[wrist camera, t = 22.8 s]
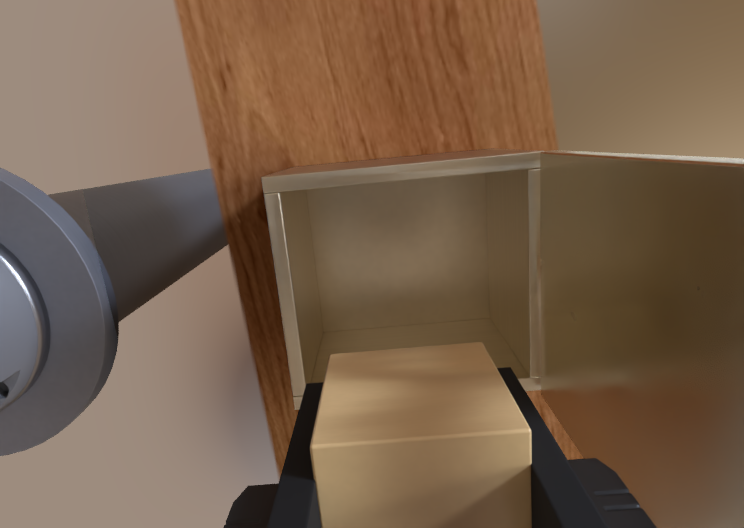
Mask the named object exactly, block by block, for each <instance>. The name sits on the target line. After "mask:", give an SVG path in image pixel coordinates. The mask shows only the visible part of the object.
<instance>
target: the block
mask: <svg viewBox="0 0 744 528" xmlns="http://www.w3.org/2000/svg"><path fill="white" fill-rule="evenodd" d="M310 455H311V462H312V470H313V477H314V480H315V484H316V491H317V499H318V506H319V513H320V520H321V528H532V506H531V464H532V432H531V429H530V427H529V425H528V423H527V422H526V420H525V418H524V416H523V414H522V413H521V411H520V409H519V407H518V405H517V404H516V402H515V400H514V398H513V396H512V395H511V393H510V391H509V389H508V387H507V386H506V384H505V382H504V380H503V378H502V377H501V375H500V373H499V371H498V370H497V368H496V366H495V364H494V362H493V361H492V359H491V357H490V355H489V353H488V352H487V350H486V348H485V346H484V344H483V343H482V342H475V343H463V344H451V345H438V346H426V347H414V348H402V349H389V350H377V351H365V352H352V353H340V354H331V355H329V358H328V363H327V368H326V373H325V377H324V382H323V387H322V391H321V396H320V401H319V406H318V410H317V415H316V420H315V424H314V429H313V434H312V439H311V443H310Z"/></svg>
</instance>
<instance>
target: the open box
mask: <svg viewBox="0 0 744 528" xmlns="http://www.w3.org/2000/svg"><path fill="white" fill-rule="evenodd" d="M541 152H544V151H534V150H514V149H494V148H493V149H482V150H471V151H460V152H449V153H439V154H428V155H417V156H406V157H395V158H384V159H374V160H363V161H352V162H341V163H330V164H319V165H309V166H298V167H292V168H289V169H285V170H282V171H279V172H276V173H273V174H269V175H266V176H263V177H261V180H262V187H263V193H265V194H264V199H265V206H266V213H267V220H268V227H269V234H270V240H271V247H272V254H273V261H274V268H275V275H276V282H277V289H278V296H279V303H280V309H281V316H282V323H283V330H284V337H285V344H286V351H287V358H288V365H289V372H290V378H291V385H292V392H293V401H294V407H295V410H299V409H300V405H301V401H302V398H303V394H304V390H305V387H306V384H307V383H320V382H324V377H325V373H326V368H327V363H328V358H329V355H331V354H340V353H352V352H365V351H377V350H389V349H402V348H414V347H426V346H438V345H451V344H463V343H475V342H482V343H483V344H484V346H485V348H486V350H487V352H488V353H489V355H490V357H491V359H492V361H493V362H494V364H495V366H496V368H504V367H511V369H512V370H513V372H514V374H515V375H516V377H517V379H518V380H519V382H520V383H521V385H522V387H523V388H524V390H525V391H533V390H541V256H540V153H541Z"/></svg>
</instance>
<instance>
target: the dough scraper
mask: <svg viewBox="0 0 744 528" xmlns="http://www.w3.org/2000/svg"><path fill="white" fill-rule="evenodd" d="M540 256H541V395H542V397H543V398H544V400H545V401H546V403H547V404H548V406H549V407H550V409H551V410H552V412H553V413H554V414H555V416H556V417H557V419H558V420H559V422H560V423H561V425H562V426H563V428H564V429H565V431H566V432H567V434H568V435H569V437H570V438H571V440H572V441H573V443H574V444H575V446H576V447H577V449H578V450H579V452H580V453H581V455H582V456H583V458H584V459H588V458H597V459H598V460H600V461H601V462H602V463H604V464H605V465H607V466H608V467H609V468H611V469H612V470H614V471H615V472H616V473H617V474H618V476H619V477H620V478H621V480H622V481H623V482H624V484H625V485H626V486H627V488H628V489H629V492H630V493H632V495H633V496H634V497H635V499H636V500H637V501H638V503H639V504H640V508H643V509H644V511H645V512H646V514H647V515H648V516H649V518H650V519H651V520H652V522H653V523H654V524H655V526H656V527H657V528H744V159H740V158H716V157H694V156H672V155H648V154H623V153H603V152H579V151H577V152H576V151H557V150H555V151H544V152H541V153H540Z"/></svg>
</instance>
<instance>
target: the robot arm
mask: <svg viewBox="0 0 744 528" xmlns="http://www.w3.org/2000/svg"><path fill="white" fill-rule="evenodd" d="M49 348H50V322H49V316H48V312H47V308H46V305H45V302H44V299H43V297H42V294H41V292H40V290H39V288H38V286H37V284H36V282H35V281H34V279H33V278H32V276H31V275H30V273H29V272H28V270H27V269H26V268H25V266H24V265H23V264H22V263H21V262H20V260H19V259H18V258H17V257H16V256H15V255H14V254H13V253H12V252H11V251H10V250H9V249H7V248H6V247H5V246H4V245H3V244H1V243H0V411H1V410H2V409H4V408H6V407H7V406H8V405H10V404H11V403H13V402H14V401H15V400H17V399H18V398H19V397H21V396H22V395H23V394H25V393H26V392H27V391H28V390H29V389H30V388H31V387H32V385H33V384H34V383H35V382H36V380H37V379H38V377H39V376H40V374H41V372H42V370H43V368H44V366H45V363H46V360H47V358H48V353H49ZM497 370H498V371H499V373H500V375H501V377H502V378H503V380H504V382H505V384H506V386H507V387H508V389H509V391H510V393H511V395H512V396H513V398H514V400H515V402H516V404H517V405H518V407H519V409H520V411H521V413H522V414H523V416H524V418H525V420H526V422H527V423H528V425H529V427H530V429H531V432H532V464H531V506H532V528H657V527H656V526H655V524H654V523H653V522H652V520H651V519H650V518H649V516H648V515H647V514H646V512H645V511H644V509H643V508H640V504H639V503H638V501H637V500H636V499H635V497H634V496H633V495H632V493H630V492H629V489H628V488H627V486H626V485H625V484H624V482H623V481H622V480H621V478H620V477H619V476H618V474H617V473H616V472H615V471H614V470H612V469H611V468H609V467H608V466H607V465H605V464H604V463H602V462H601V461H600V460H598V459H597V458H588V459H575V460H567V459H566V457H565V455H564V454H563V452H562V451H561V449H560V447H559V446H558V444H557V442H556V441H555V439H554V437H553V436H552V434H551V433H550V431H549V429H548V428H547V426H546V424H545V423H544V421H543V419H542V418H541V416H540V415H539V413H538V411H537V410H536V408H535V406H534V405H533V403H532V401H531V400H530V398H529V397H528V395H527V393H526V392H525V390H524V388H523V387H522V385H521V383H520V382H519V380H518V379H517V377H516V375H515V374H514V372H513V370H512V369H511V367H504V368H497ZM322 387H323V382H320V383H307V384H306V387H305V390H304V394H303V398H302V401H301V405H300V409H299V412H298V416H297V419H296V423H295V427H294V430H293V434H292V437H291V441H290V445H289V448H288V452H287V456H286V459H285V463H284V466H283V470H282V474H281V477H280V481H279V484H267V485H255V486H248V487H247V488H246V489H245V490H244V491H243V492H242V493H241V495H240V496H239V497H238V498H237V499H236V500H235V501H234V502H233V505H232V507H231V510H230V512H229V515H228V518H227V520H226V525H224V528H321V520H320V513H319V506H318V499H317V491H316V484H315V480H314V477H313V470H312V462H311V455H310V443H311V439H312V434H313V429H314V424H315V420H316V415H317V410H318V406H319V401H320V396H321V391H322Z"/></svg>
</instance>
